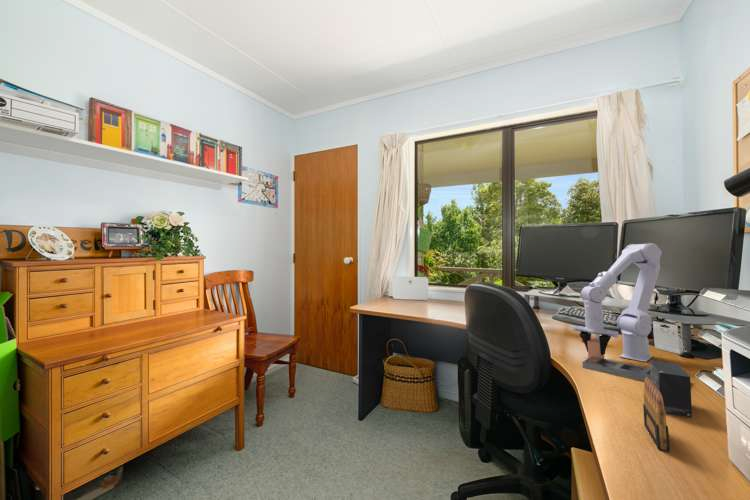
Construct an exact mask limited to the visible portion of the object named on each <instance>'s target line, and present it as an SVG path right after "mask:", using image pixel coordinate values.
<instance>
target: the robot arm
mask: <svg viewBox="0 0 750 500" xmlns="http://www.w3.org/2000/svg"><path fill="white" fill-rule="evenodd" d="M662 254H663V252H662V250H661V249H660V248H659V246H658V245H657V244H655V243H653V242H649V243H638V244H636V243H630V244H628V245H627V246H626V247H625V248H624V249H623V250H622V251H621V254H620V256H618V258H617V259H616V260H615V262H614V263H613V264H612V265H611V266H610V268H608V270H607V271H602V272H598V274H597V276H596V277H595V278H594V279H593V280H592V282H589V285H587V286H583V288H582V289H581V291H580V293H579V296H580V297H581V299H582V300H583V301H582V302H583V304H584V305H583V306H584V307H583V308H584V320H585V321H584V323H585V326H581V325H580V326H579V325H574V326H572V332H579V337H580V338H581V341H582V340H583V342H582V343H584V346H585V348H586V351H587V353H588V344H587V341H588V340H590V339H591V338H592V335H595V334H598V335H599V340H600V346H601V355H604V356H605V355H606V349H607V347H608V344H609V342H610V339H612V338H619V331H616V330H611V329H606V328H605V327H604V314H603V313H604V312H603V301H604V300H606V298H607V293H608V291H609V290H610V289H611V288H612V287H613V286H614V285H615V284H616V283H617V282H618V280H617V279H618V278H617V277H618V276H619V275H620V274H621V273H623V272H624V271H625V270H626V269H627V268H628V267H630V266H631V264H634V265H636V266H637V268H639V273H638V276H637V279H636V283H635V285H634V289H633V292H632V296H631V299H630V301H629V305H628V307H626V308H625V309H623V310H622V311H621V314H620V315H619V316H618V317H617V319H616V326H617V328H618V329H619V330H620V332H621V336H622V339H621V340H622V352H623V353H622V354H620V355H619V358H623V359H627V360H632V361H633V360H634V361H638V362H644V363H646V362H649V361H650V360H651V359H652V357H653V354H650V347H649V346H650V345H649V338H648V336H649V335H650V333H651V331H652V328H653V326H652V316H650V314H649V313H648V310H649V305H650V303H651V300H652V296H653V293H654V290H655V286H656V284H657V283H656V282H657V280H658V277H659V275H660V274H659V273H660V270H661V262H660V260H661V258H662Z"/></svg>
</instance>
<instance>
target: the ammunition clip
mask: <svg viewBox="0 0 750 500" xmlns="http://www.w3.org/2000/svg"><path fill="white" fill-rule="evenodd" d="M643 383H644V384H643V385H644V386H643V387H644V390H643V403H642V404H643V405H642V406H643V410H642V411H643V422H644V424H643V425H644V427H645V429H646V431H647V433H648V432H649V433H648V435H649V436H650V438H651V440H652V439H653V440H652V442H653V443H654V444H656V445H655V447H656V446H657V447H656V448H657V450H658V451H663V452H667V453H668V452H669V453H671V449H670V447H671V446H670V437H669V435H670V434H669V426H668V424H667V413H665V410H664V403H663V398H662V395H661V393H660V391H658V389H657V388H656V387H655V385H653V383H652V382H651V380H650V379H649V378H648V377H647V376H646V378H645V382H643Z"/></svg>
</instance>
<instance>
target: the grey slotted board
mask: <svg viewBox="0 0 750 500" xmlns="http://www.w3.org/2000/svg"><path fill="white" fill-rule="evenodd" d="M581 364H582V368H583V369H588V370H591V371H597V372H601V373H605V374H610V375H613V376H619V377H623V378H626V379H633V380H635V381H640V382H643V383H645V378H646V376H647V377H648V378H649V379H650V380H651V371H650V367H647V366H644V365H643V366H642V365H637V364H633V363H627V362H622V361H617V360H612V359H608V358H604V359H603V358H598V357H593V356H592V357H590V358H588V357H587V359H584V360H583V361H582V363H581Z"/></svg>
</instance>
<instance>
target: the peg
mask: <svg viewBox="0 0 750 500" xmlns="http://www.w3.org/2000/svg"><path fill="white" fill-rule="evenodd" d="M594 339H595V338H592V339H590V340H588V341H587V344H588V352H587V359H588V358H590V357H592V356H593V357H598V358H603V359H605V354H604V355H601V346H600V340H594Z"/></svg>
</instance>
